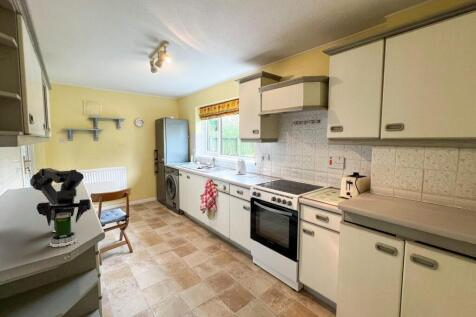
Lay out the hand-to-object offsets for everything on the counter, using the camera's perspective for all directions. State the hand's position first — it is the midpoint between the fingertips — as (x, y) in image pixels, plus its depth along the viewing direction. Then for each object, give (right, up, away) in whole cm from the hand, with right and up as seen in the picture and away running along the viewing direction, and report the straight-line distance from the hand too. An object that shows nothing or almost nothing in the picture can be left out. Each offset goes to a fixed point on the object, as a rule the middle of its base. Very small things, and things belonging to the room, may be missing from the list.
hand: (62, 223), depth 94 cm
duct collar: (-1, -9, +2) cm, 9 cm away
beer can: (-1, -8, +2) cm, 8 cm away
